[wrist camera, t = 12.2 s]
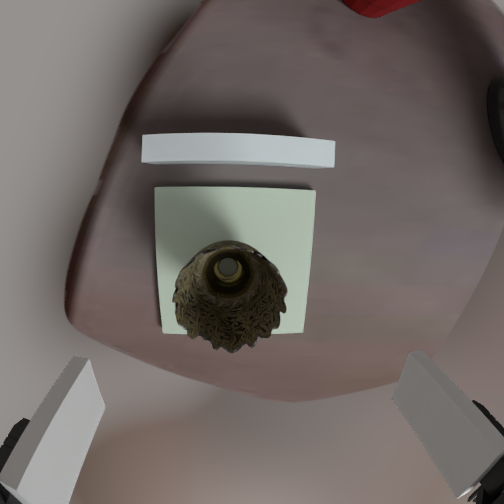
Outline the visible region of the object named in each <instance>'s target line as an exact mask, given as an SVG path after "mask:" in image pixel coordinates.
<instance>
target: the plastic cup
mask: <svg viewBox="0 0 504 504" xmlns="http://www.w3.org/2000/svg"><path fill="white" fill-rule="evenodd" d="M343 1H344V3H345V4H346V5H347V6H348V7H349V8H350V9H352V10H353V11H355V12H357V13H358V14H360V15H363V16H366V17H371V18H377V17H381V16H383V15H386V14H388V13H390V12H392V11H395V10H398V9H400V8H403V7H405V6H408V5H410V4H413V3H415V2H418V1H421V0H343Z"/></svg>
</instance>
